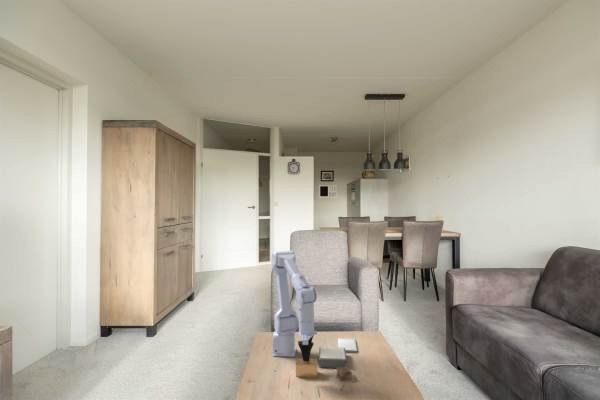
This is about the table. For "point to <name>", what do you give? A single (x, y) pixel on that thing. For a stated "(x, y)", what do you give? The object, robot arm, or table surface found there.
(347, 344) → the hard drive
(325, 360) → the stand
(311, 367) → the block
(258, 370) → the table surface
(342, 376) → the walnut block
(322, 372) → the table surface
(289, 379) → the table surface
